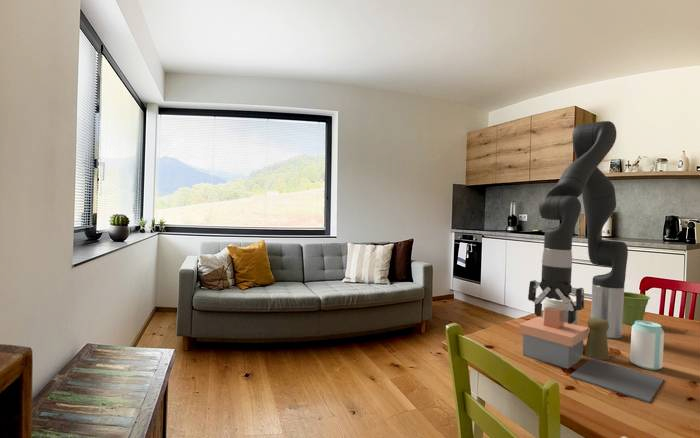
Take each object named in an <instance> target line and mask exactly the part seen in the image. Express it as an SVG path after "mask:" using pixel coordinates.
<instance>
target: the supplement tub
mask: <svg viewBox="0 0 700 438" xmlns="http://www.w3.org/2000/svg"><path fill="white" fill-rule="evenodd" d="M571 299H572V301H573V303H574V304H575V306H576V298H573V297H571ZM564 300H565V299H564ZM547 307H555V308H560V309H565V312H564V322H566V323H568V311H569V309H568V307H567V306H566V304H564V302H563V301H562V300H556V299H549V298H548V297H546V298H545V299H544V300H543V310H542V312H543V314H542V315H543V316H542V317H544V311H545V308H547ZM578 311H579V310H577V311H576V320H575V322H573V323H572V324H574V325H578Z"/></svg>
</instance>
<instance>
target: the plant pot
mask: <svg viewBox="0 0 700 438" xmlns="http://www.w3.org/2000/svg"><path fill="white" fill-rule="evenodd" d="M650 299H651V296H649V295H646V294H643V293H636V292H629V291H624V305H623V323H624V324H623V325H627V324H628V326H633V325H634V324H635V321H638V320H640V321H644V317H645V313H646V312H645V311H646V308H647V305H648V304H649V302H648V301H649V300H650Z"/></svg>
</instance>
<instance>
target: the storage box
mask: <svg viewBox="0 0 700 438" xmlns="http://www.w3.org/2000/svg"><path fill="white" fill-rule="evenodd" d="M522 335H523V337H522V338H523V339H522V356H525V357H528V358H532V359H535V360H538V361H541V362H544V363H548V364H552V365H554V366H557V367H561V368H564V369H566V370H568V369H570V368H571V367H573V366H574V365H575V364H576V363H579V361H581V360H582V359H583V356H584V355H583V354H584V353H583V352H584V339H583V340H582V341H580V342H579V343H577V344H576V345H574V346H572V347H570V346H566V345H563V344H559V343H555V342H552V341H548V340H544V339H541V338H537V337H533V336H530V335H526V334H522Z"/></svg>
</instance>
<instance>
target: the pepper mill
mask: <svg viewBox="0 0 700 438" xmlns="http://www.w3.org/2000/svg"><path fill="white" fill-rule="evenodd" d="M587 326H588V328H589V332H588V337H587V340H586V345H585V350H584V355H586V356H587V357H589V358H593V359H596V360H600V361H602V360H604V361H605V360H610V355H609V346H608V345H609V344H608V343H609V342H608V338H607V333H606V331H607V330H608V328H609V324H608V322H607V321H606V320H603V319H600V318H591V317H590V318H589V319H588V321H587Z"/></svg>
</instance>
